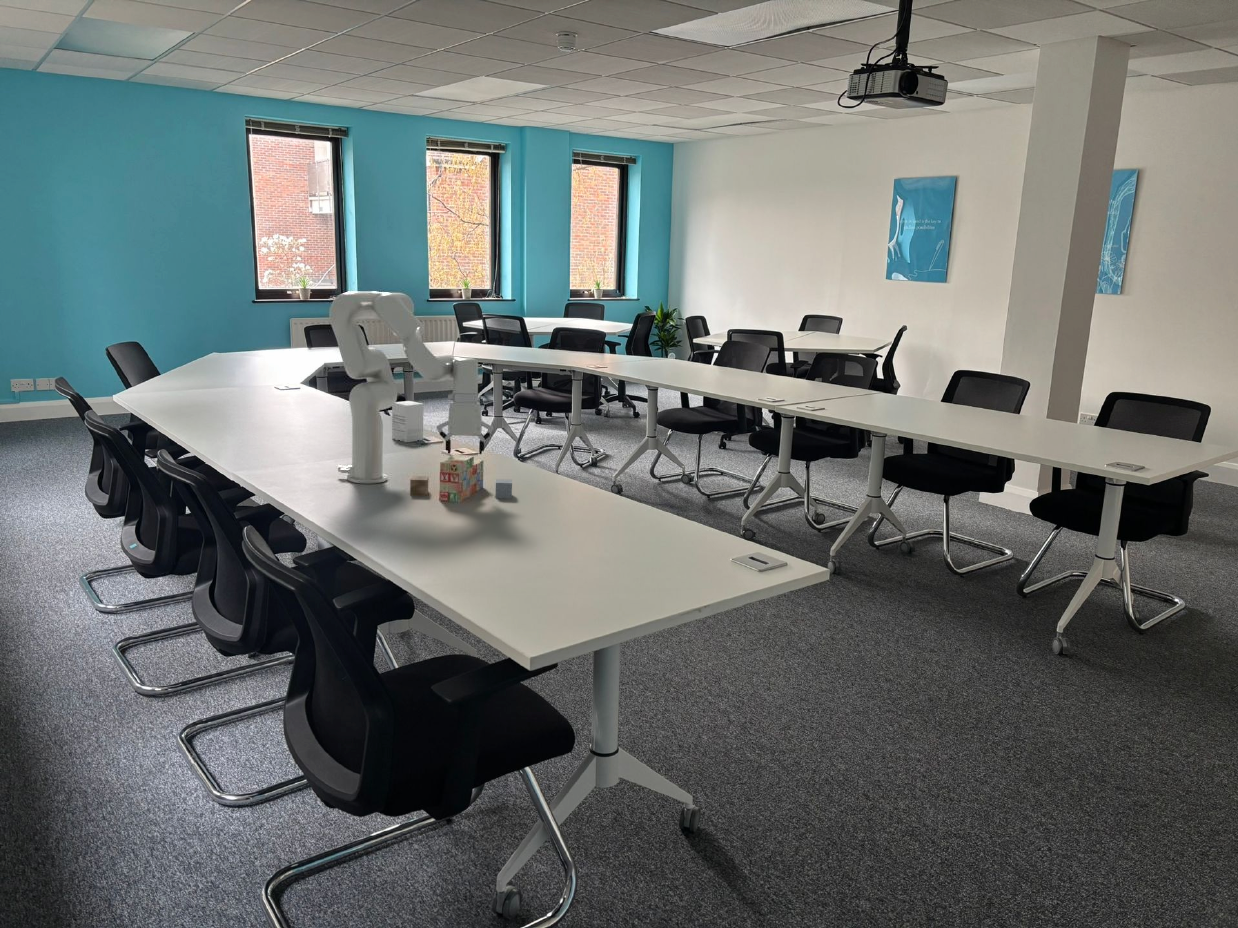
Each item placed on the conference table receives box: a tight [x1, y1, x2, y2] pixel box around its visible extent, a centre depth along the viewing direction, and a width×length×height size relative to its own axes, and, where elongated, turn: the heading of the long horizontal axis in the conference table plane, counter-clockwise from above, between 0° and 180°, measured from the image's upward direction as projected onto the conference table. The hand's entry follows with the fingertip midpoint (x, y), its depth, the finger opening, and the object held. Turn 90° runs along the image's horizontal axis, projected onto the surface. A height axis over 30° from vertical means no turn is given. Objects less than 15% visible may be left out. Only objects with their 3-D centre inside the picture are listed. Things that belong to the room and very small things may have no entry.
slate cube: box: [494, 478, 513, 500], centre depth 277 cm, size 5×5×5 cm
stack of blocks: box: [438, 453, 484, 504], centre depth 276 cm, size 21×6×12 cm, turn 168°
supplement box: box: [391, 400, 424, 443], centre depth 352 cm, size 9×9×15 cm
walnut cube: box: [409, 475, 429, 497], centre depth 274 cm, size 5×5×5 cm
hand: (464, 453), depth 274 cm, fingers open, 9 cm apart
